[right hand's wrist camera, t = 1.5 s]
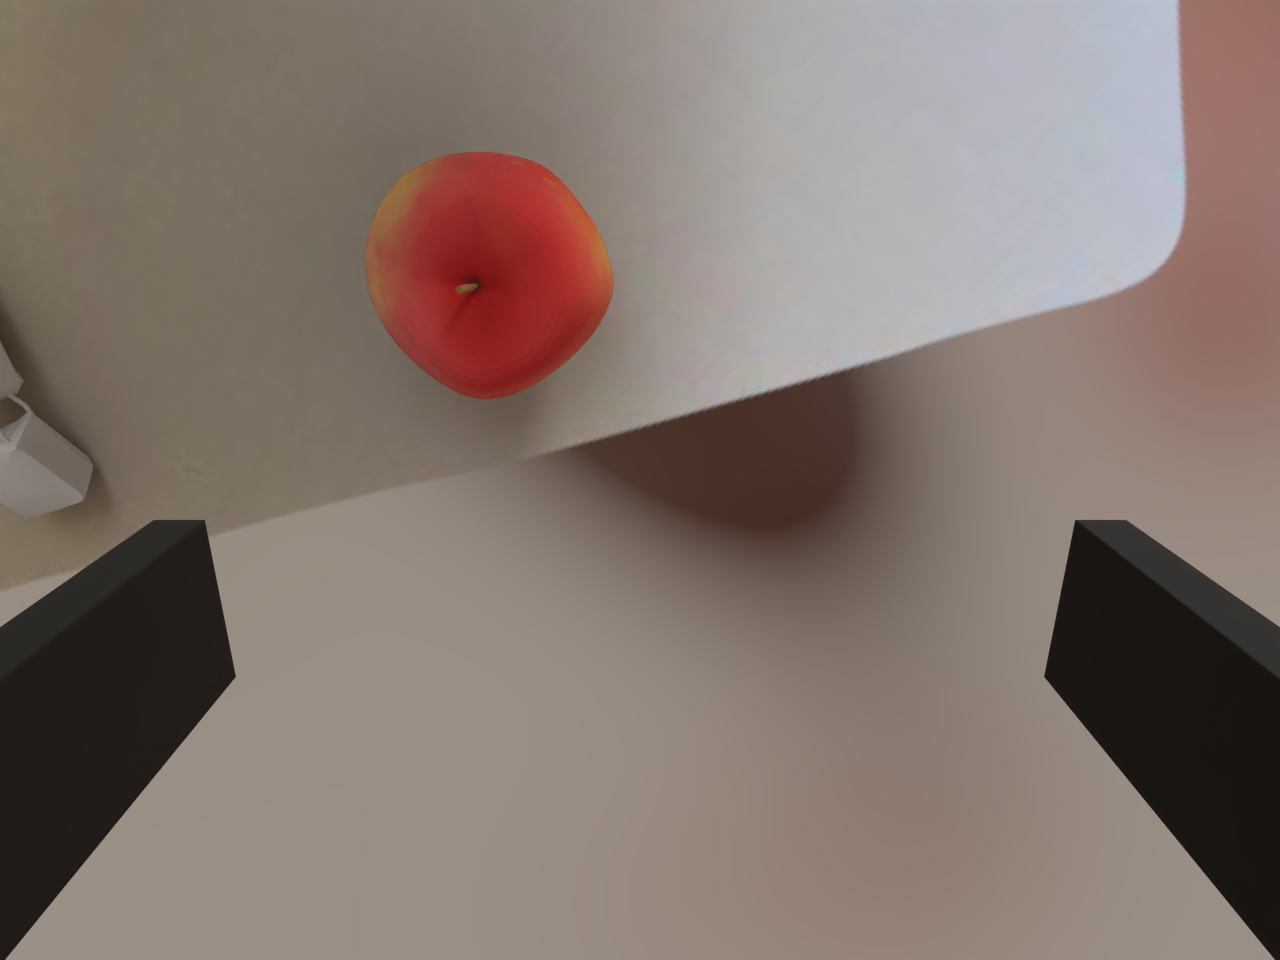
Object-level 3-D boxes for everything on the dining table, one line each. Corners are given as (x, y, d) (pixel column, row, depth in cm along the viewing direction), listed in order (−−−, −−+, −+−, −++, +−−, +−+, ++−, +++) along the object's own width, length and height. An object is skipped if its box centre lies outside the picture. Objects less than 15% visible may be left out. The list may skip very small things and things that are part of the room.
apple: (590, 135, 36) (573, 115, 27) (632, 346, 39) (630, 394, 30) (381, 180, 37) (292, 175, 27) (439, 383, 40) (377, 443, 30)
